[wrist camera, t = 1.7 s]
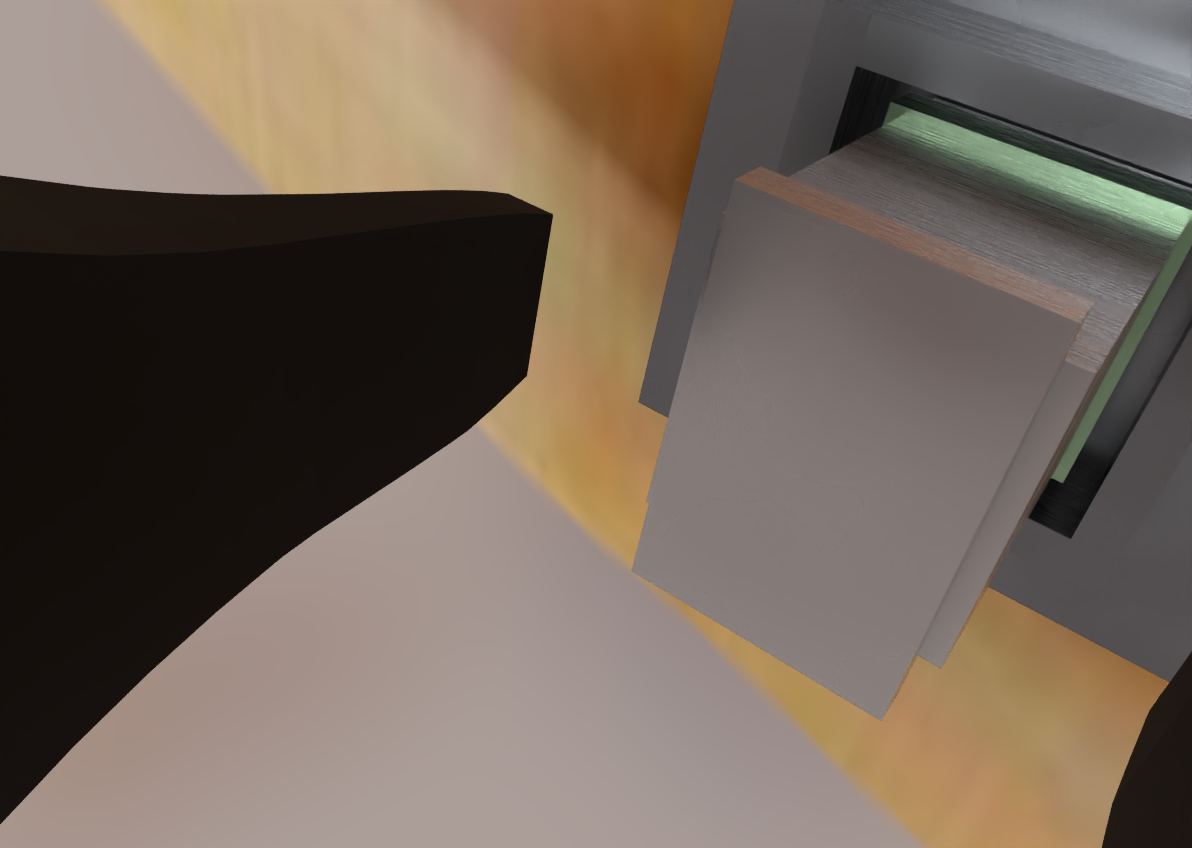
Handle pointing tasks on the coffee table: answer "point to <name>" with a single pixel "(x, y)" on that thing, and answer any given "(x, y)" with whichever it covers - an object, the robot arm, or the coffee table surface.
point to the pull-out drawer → (897, 383)
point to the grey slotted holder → (1044, 106)
